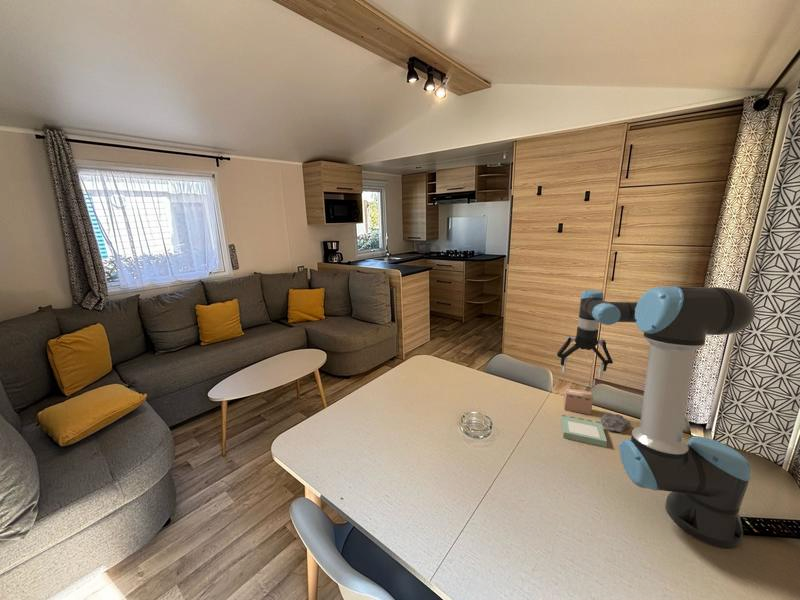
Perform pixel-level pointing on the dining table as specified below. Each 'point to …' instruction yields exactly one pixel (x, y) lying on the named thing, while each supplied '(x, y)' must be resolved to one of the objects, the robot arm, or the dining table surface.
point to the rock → (614, 422)
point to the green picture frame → (583, 430)
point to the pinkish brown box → (578, 401)
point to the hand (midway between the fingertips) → (581, 375)
